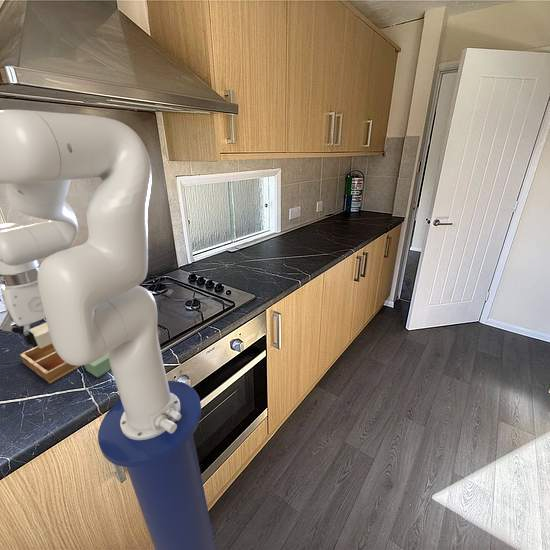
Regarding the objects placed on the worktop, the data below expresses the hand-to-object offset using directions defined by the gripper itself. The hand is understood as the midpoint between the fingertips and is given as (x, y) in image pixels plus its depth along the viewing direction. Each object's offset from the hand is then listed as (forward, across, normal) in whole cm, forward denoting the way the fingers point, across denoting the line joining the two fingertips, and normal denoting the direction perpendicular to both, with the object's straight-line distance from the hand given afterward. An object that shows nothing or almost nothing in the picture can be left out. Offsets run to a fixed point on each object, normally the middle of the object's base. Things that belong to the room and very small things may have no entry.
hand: (47, 338), depth 77 cm
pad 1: (0, 0, 0) cm, 0 cm away
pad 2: (+10, +6, -10) cm, 16 cm away
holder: (+10, 0, +4) cm, 11 cm away
